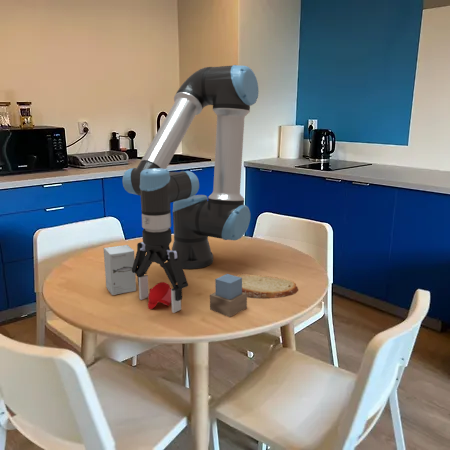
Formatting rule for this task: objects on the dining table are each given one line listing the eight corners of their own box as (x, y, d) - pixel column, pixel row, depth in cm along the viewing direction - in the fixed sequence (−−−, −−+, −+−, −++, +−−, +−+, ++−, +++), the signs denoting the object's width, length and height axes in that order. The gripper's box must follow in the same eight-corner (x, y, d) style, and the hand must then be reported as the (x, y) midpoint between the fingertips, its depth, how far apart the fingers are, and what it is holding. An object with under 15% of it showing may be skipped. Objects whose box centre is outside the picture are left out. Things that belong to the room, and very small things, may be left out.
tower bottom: (209, 310, 122) (209, 294, 120) (226, 301, 127) (226, 286, 126) (230, 318, 117) (230, 301, 116) (246, 309, 122) (246, 293, 121)
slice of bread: (303, 291, 134) (304, 279, 133) (259, 308, 123) (260, 295, 122) (260, 274, 147) (260, 263, 146) (217, 288, 136) (217, 277, 135)
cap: (163, 285, 129) (146, 279, 125) (177, 283, 125) (160, 277, 121) (158, 313, 126) (141, 308, 122) (172, 312, 122) (155, 307, 118)
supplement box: (111, 296, 130) (108, 254, 127) (105, 287, 137) (102, 247, 133) (137, 291, 133) (134, 250, 130) (129, 283, 140) (127, 243, 137)
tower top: (215, 295, 120) (215, 279, 119) (227, 289, 124) (227, 273, 123) (230, 299, 117) (230, 283, 116) (241, 293, 121) (242, 277, 120)
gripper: (116, 223, 124) (120, 296, 129) (179, 240, 108) (181, 322, 114) (137, 218, 129) (141, 289, 135) (200, 233, 114) (202, 312, 119)
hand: (159, 304), depth 124 cm, fingers open, 12 cm apart
